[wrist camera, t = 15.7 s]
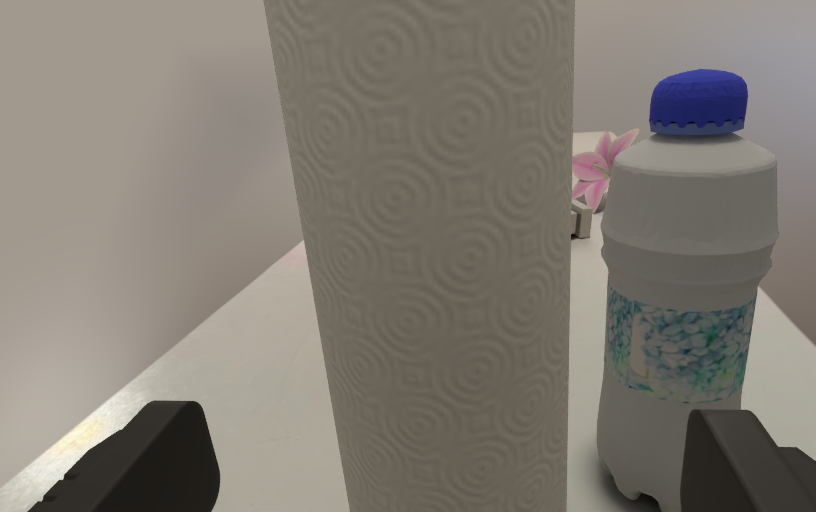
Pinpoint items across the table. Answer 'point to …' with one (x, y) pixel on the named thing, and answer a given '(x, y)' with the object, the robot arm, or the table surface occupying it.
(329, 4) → the paper towel roll
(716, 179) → the bottle
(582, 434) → the table surface
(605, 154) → the lily
